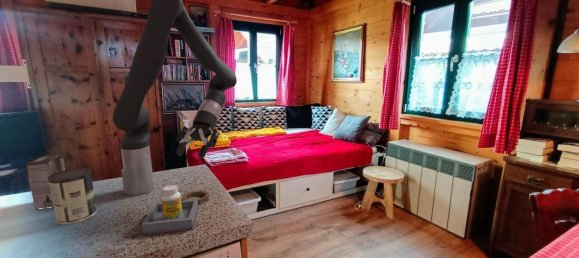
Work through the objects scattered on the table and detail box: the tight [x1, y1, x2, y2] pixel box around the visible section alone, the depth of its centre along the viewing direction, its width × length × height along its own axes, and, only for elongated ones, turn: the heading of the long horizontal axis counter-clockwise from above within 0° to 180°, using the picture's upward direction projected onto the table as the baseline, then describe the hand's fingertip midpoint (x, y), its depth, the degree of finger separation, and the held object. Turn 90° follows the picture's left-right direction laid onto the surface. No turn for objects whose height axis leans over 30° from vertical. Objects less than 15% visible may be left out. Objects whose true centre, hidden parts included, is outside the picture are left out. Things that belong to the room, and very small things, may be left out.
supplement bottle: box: [160, 184, 182, 220], centre depth 80 cm, size 5×5×10 cm
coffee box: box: [25, 154, 67, 210], centre depth 91 cm, size 9×6×16 cm
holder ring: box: [181, 190, 210, 206], centre depth 94 cm, size 9×9×2 cm
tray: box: [141, 198, 199, 236], centre depth 80 cm, size 13×13×3 cm
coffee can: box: [48, 167, 98, 225], centre depth 82 cm, size 10×10×14 cm
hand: (189, 156), depth 87 cm, fingers open, 8 cm apart
